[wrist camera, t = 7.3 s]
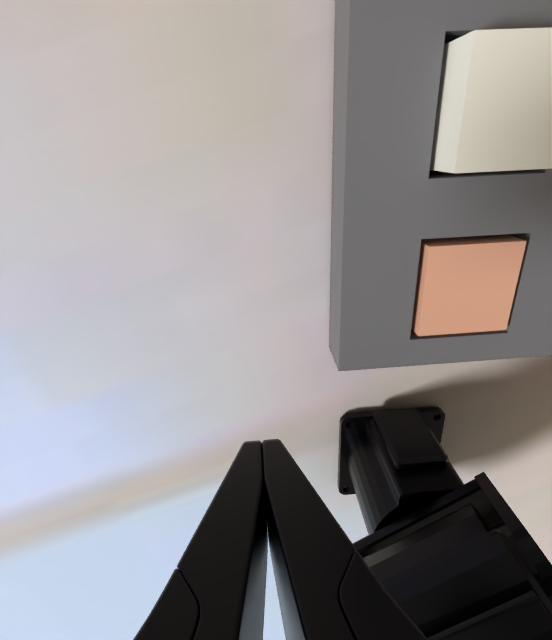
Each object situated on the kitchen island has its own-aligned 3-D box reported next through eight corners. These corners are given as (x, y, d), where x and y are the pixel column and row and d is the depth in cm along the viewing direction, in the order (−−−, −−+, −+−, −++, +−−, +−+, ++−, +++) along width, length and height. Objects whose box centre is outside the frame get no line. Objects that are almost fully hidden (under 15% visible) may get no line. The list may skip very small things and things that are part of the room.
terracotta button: (478, 309, 21) (506, 329, 19) (399, 315, 21) (418, 336, 19) (493, 229, 19) (526, 240, 17) (407, 234, 19) (429, 246, 17)
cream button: (524, 164, 17) (567, 167, 15) (426, 169, 17) (454, 173, 15) (550, 43, 15) (603, 25, 13) (439, 47, 15) (474, 29, 13)
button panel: (534, 332, 22) (567, 354, 20) (329, 347, 22) (338, 371, 20) (700, -292, 13) (798, -385, 11) (340, -294, 12) (362, -392, 10)
